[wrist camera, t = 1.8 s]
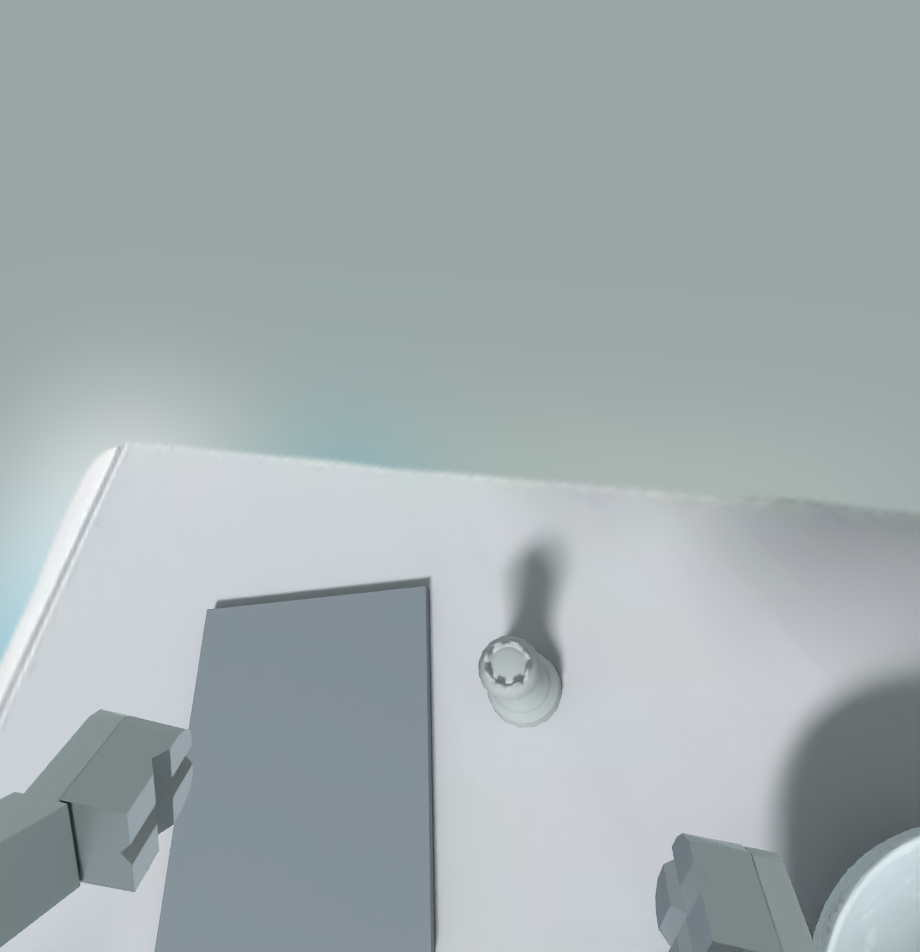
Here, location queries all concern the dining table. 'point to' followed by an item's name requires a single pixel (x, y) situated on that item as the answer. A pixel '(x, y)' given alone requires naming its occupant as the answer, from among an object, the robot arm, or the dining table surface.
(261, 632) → the mat
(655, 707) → the dining table surface
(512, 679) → the rook chess piece
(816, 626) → the dining table surface
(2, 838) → the robot arm
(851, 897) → the cereal bowl
